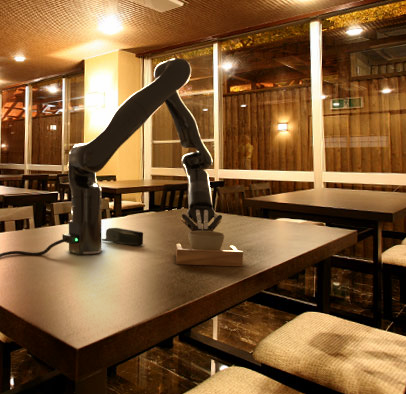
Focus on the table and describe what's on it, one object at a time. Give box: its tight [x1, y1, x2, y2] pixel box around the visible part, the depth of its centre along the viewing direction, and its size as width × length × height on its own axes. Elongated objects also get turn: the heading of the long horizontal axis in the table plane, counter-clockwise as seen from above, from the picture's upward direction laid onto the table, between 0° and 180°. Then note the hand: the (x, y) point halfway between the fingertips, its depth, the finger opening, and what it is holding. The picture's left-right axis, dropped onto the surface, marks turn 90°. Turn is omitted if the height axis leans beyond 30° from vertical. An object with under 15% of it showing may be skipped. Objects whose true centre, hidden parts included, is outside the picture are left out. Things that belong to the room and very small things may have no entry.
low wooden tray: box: [175, 243, 244, 267], centre depth 111 cm, size 10×17×4 cm, turn 82°
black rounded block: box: [101, 227, 144, 247], centre depth 135 cm, size 5×3×15 cm
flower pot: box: [188, 230, 225, 250], centre depth 114 cm, size 10×10×7 cm
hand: (203, 241), depth 119 cm, fingers closed
